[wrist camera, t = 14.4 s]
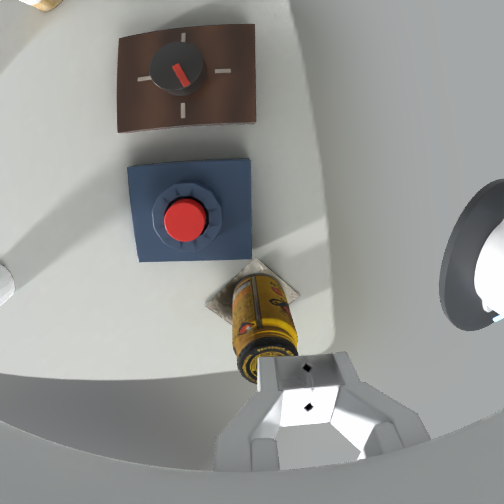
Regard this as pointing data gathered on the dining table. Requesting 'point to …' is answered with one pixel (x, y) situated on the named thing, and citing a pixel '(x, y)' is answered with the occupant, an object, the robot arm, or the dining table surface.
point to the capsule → (6, 285)
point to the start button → (185, 220)
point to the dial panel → (206, 97)
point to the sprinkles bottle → (43, 4)
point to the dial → (178, 68)
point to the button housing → (204, 192)
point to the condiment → (257, 316)
